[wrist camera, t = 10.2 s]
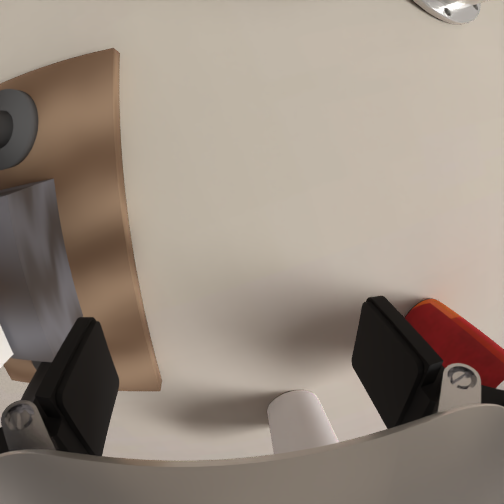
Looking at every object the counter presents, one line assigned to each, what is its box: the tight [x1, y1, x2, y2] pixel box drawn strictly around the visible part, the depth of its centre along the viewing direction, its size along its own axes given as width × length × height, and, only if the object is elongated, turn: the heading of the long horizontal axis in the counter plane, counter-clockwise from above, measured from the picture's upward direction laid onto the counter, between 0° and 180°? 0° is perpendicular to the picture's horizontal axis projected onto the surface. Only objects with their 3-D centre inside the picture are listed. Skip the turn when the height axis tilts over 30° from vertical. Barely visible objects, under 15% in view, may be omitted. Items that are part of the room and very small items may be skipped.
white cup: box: [267, 390, 339, 454], centre depth 26 cm, size 7×7×10 cm
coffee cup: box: [405, 299, 504, 390], centre depth 22 cm, size 8×8×15 cm
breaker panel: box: [0, 48, 162, 391], centre depth 17 cm, size 28×18×8 cm, turn 2°
